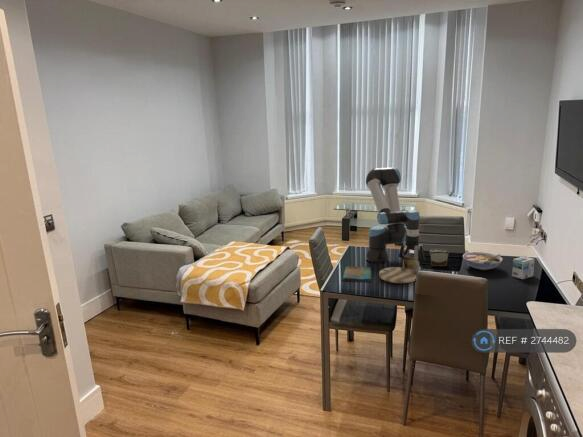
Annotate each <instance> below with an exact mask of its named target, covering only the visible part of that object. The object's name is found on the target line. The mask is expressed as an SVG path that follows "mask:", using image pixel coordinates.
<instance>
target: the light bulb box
mask: <svg viewBox="0 0 583 437" xmlns="http://www.w3.org/2000/svg"><path fill="white" fill-rule="evenodd" d="M512 260H513V261H512V272H511V273H512V274H511V276H512V277H514V278H517V279H521V280H525V279H528V278H531V277H534V273H535V272H534V270H535V269H534V268H535V260H536V259H535V258H532V257H529V256H527V255H526V256H525V255H523V256H520V257H517V258H513V259H512Z"/></svg>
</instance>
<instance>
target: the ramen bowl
mask: <svg viewBox="0 0 583 437" xmlns="http://www.w3.org/2000/svg"><path fill="white" fill-rule="evenodd" d="M462 258H463V260H464V262H465V263H466V264H467V265H468V266H470V267H472V268H474V269H476V270H478V269H479V271H487V270H492V269H495V268H497V267H499V265H500V264H501V263H502V261H503V257H501V255H500V253H499V254H496V253H495V254H494V253H490V252H483V251H471V252H470V251H469V252H466V253H464V254H463V255H462Z"/></svg>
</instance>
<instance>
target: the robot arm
mask: <svg viewBox="0 0 583 437" xmlns="http://www.w3.org/2000/svg"><path fill="white" fill-rule="evenodd" d="M401 178H402V175H401V172H400V170H399V169H398V167H392V166H389V167H374V168H372V169H371V170H370V171H368V173H367V175H366V178H365V184H366V187H367V189H369V191H370V194H371V196H372V199H373V201H374V204H375V207H376V209H377V212H378V213H377V214H376V219H377V223H378V224H379V225H373V226H372V227H370V228H369V229H368V249H367V253H366V259H367V260H368V262H369V261H371V262H370V263H373V262H375V264H381V263H382V262H384V263H387V262H389V260H390V259H389V258H390V257H389V253H388V251H387V246H388V245H397V244H398V245H400V246H401V247H400V249H399V255H398V257H399V258H401V264H402V268H405V266H404V261H403V254H404V256H405V255H406V254H407V253H409V251H410V250H411V251H414V246H418V249H419V250H418V257H419V259H418V266H417V272H418V271H419V272H420V271H421V269H422V266H423V262H424V261H425V260H426V257H425V250H424V244H419V240H420V238H419V237H420V236H419V234H420V212H419V210H417V209H416V210H414V209H411V210H410V209H409V210H407V209H400V202H399V200H400V199H399V194H398V187H399V185H400V183H401V182H402V180H401ZM405 246H406V248H405ZM367 260H366V261H367ZM386 261H387V262H386Z"/></svg>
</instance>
